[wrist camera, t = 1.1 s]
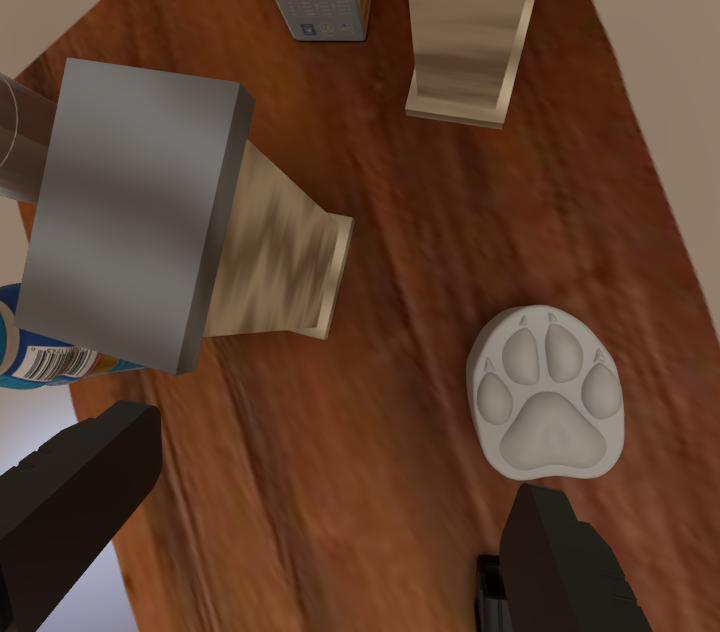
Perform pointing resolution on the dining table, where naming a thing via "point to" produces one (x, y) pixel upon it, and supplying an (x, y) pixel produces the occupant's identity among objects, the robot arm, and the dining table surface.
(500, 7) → the stand
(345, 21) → the hard drive box
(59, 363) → the beverage bottle
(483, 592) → the end cap
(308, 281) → the lower stand
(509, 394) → the lumpy-topped squat cylinder
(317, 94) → the dining table surface
